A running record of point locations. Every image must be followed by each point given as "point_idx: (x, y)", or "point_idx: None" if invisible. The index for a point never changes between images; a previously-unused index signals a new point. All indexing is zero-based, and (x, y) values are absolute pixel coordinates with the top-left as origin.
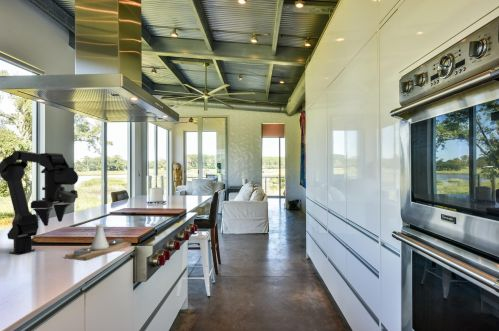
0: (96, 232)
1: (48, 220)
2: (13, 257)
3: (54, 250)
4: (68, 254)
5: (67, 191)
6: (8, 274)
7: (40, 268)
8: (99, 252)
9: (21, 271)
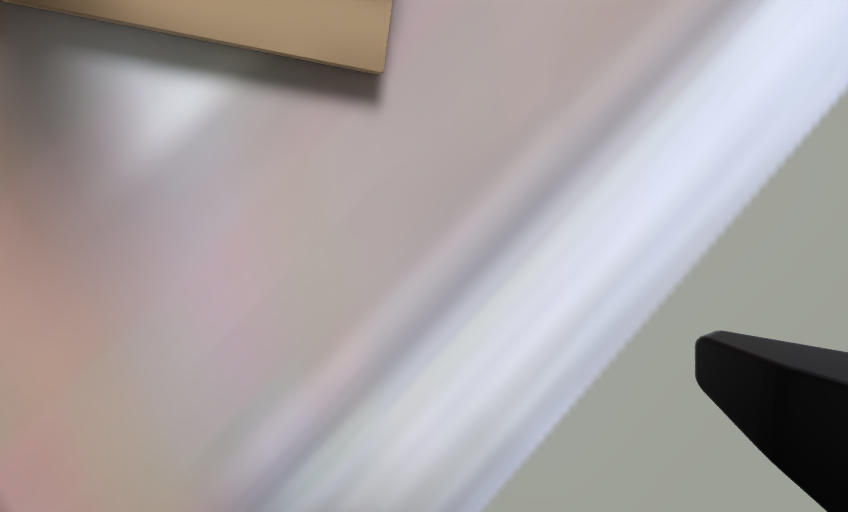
0: None
1: (827, 373)
2: (446, 491)
3: (179, 404)
4: (369, 39)
5: None
6: (760, 164)
7: (660, 48)
8: None
9: (715, 134)
